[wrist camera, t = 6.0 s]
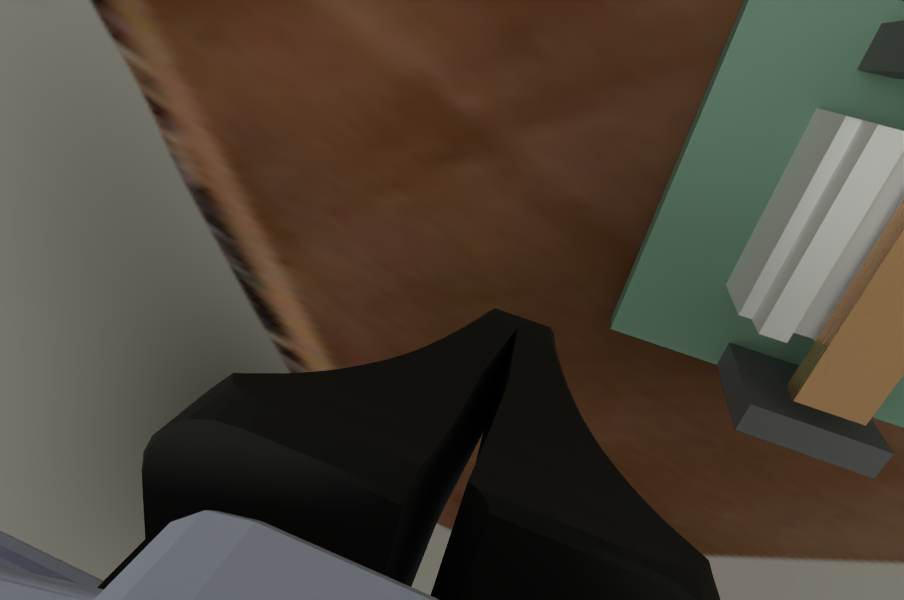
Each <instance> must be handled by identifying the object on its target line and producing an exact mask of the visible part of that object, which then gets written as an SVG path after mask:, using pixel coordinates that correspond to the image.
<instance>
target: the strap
mask: <svg viewBox="0 0 904 600" xmlns="http://www.w3.org/2000/svg"><path fill="white" fill-rule="evenodd" d="M903 375H904V199H903V201H902V203H901V204H900V206H899V207H898V209H897V211H896V212H895V214H894V215H893V217H892V219H891V220H890V222H889V223H888V225H887V227H886V228H885V230H884V231H883V233H882V235H881V236H880V238H879V239H878V241H877V243H876V244H875V246H874V247H873V249H872V251H871V252H870V254H869V255H868V257H867V259H866V260H865V262H864V263H863V265H862V267H861V268H860V270H859V271H858V273H857V275H856V276H855V278H854V279H853V281H852V282H851V284H850V286H849V287H848V289H847V290H846V292H845V294H844V295H843V297H842V298H841V300H840V302H839V303H838V305H837V306H836V308H835V310H834V311H833V313H832V314H831V316H830V318H829V319H828V321H827V322H826V324H825V326H824V327H823V329H822V330H821V332H820V334H819V335H818V337H817V338H816V340H815V342H814V343H813V345H812V346H811V348H810V350H809V351H808V353H807V354H806V356H805V358H804V359H803V361H802V362H801V364H800V365H799V367H798V369H797V370H796V372H795V373H794V375H793V377H792V378H791V380H790V381H789V383H788V385H787V386H786V387H787V389H788V391H789V393H790V395H791V397H792V399H793V401H795V402H798V403H801V404H803V405H806V406H809V407H812V408H815V409H818V410H821V411H824V412H827V413H830V414H833V415H836V416H839V417H842V418H845V419H848V420H850V421H853V422H856V423H859V424H862V425H865V426H866V425H867V424H868V422H869V421H870V419H871V418H872V417H873V415H874V414H875V413H876V411H877V410H878V409H879V407H880V406H881V405H882V403H883V402H884V401H885V399H886V398H887V396H888V395H889V394H890V392H891V391H892V390H893V388H894V387H895V386H896V384H897V383H898V382H899V380H900V379H901V378H902V376H903Z"/></svg>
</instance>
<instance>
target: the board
mask: <svg viewBox="0 0 904 600" xmlns="http://www.w3.org/2000/svg"><path fill="white" fill-rule="evenodd" d="M903 199H904V1H901V0H744V1H743V3H742V5H741V8H740V10H739V13H738V15H737V17H736V20H735V22H734V25H733V27H732V29H731V32H730V34H729V37H728V39H727V41H726V44H725V46H724V49H723V51H722V53H721V56H720V58H719V61H718V63H717V65H716V68H715V70H714V73H713V75H712V77H711V80H710V82H709V85H708V87H707V89H706V92H705V94H704V97H703V99H702V101H701V104H700V106H699V109H698V111H697V113H696V116H695V118H694V121H693V123H692V125H691V128H690V130H689V133H688V135H687V137H686V140H685V142H684V145H683V147H682V149H681V152H680V154H679V157H678V159H677V161H676V164H675V166H674V169H673V171H672V173H671V176H670V178H669V181H668V183H667V185H666V188H665V190H664V193H663V195H662V197H661V200H660V202H659V205H658V207H657V209H656V212H655V214H654V217H653V219H652V221H651V224H650V226H649V229H648V231H647V233H646V236H645V238H644V241H643V243H642V245H641V248H640V250H639V253H638V255H637V257H636V260H635V262H634V265H633V267H632V269H631V272H630V274H629V277H628V279H627V281H626V284H625V286H624V289H623V291H622V293H621V296H620V298H619V300H618V303H617V305H616V308H615V310H614V312H613V315H612V317H611V329H612V330H615V331H618V332H621V333H624V334H627V335H630V336H633V337H636V338H639V339H642V340H645V341H648V342H651V343H654V344H657V345H660V346H663V347H665V348H668V349H671V350H674V351H677V352H680V353H683V354H686V355H689V356H692V357H695V358H698V359H701V360H704V361H707V362H710V363H713V364H716V365H717V368H718V371H719V375H720V378H721V382H722V385H723V389H724V392H725V396H726V399H727V403H728V406H729V410H730V413H731V417H732V420H733V424H734V427H735V430H737V431H740V432H743V433H746V434H749V435H751V436H754V437H757V438H760V439H763V440H765V441H768V442H771V443H774V444H777V445H780V446H782V447H785V448H788V449H791V450H794V451H797V452H799V453H802V454H805V455H808V456H811V457H813V458H816V459H819V460H822V461H825V462H828V463H830V464H833V465H836V466H839V467H842V468H844V469H847V470H850V471H853V472H856V473H859V474H861V475H864V476H867V477H870V478H873V479H874V478H875V477H876V476H877V475H878V473H879V472H880V471H881V470H882V468H883V467H884V466H885V465H886V463H887V462H888V461H889V460H890V458H891V457H892V456H893V455H894V453H893V451H892V450H891V448H890V447H889V445H888V444H887V442H886V441H885V439H884V438H883V436H882V435H881V433H880V432H879V430H878V429H877V428H876V426H875V425H874V423H873V422H872V420H871V419H870V421H869V422H868V424H867V425H866V426H865V425H862V424H859V423H856V422H853V421H850V420H848V419H845V418H842V417H839V416H836V415H833V414H830V413H827V412H824V411H821V410H818V409H815V408H812V407H809V406H806V405H803V404H801V403H798V402H795V401H793V399H792V397H791V395H790V393H789V391H788V389H787V387H786V386H787V385H788V383H789V381H790V380H791V378H792V377H793V375H794V373H795V372H796V370H797V369H798V367H799V365H800V364H801V362H802V361H803V359H804V358H805V356H806V354H807V353H808V351H809V350H810V348H811V346H812V345H813V343H814V342H815V340H816V338H817V337H818V335H819V334H820V332H821V330H822V329H823V327H824V326H825V324H826V322H827V321H828V319H829V318H830V316H831V314H832V313H833V311H834V310H835V308H836V306H837V305H838V303H839V302H840V300H841V298H842V297H843V295H844V294H845V292H846V290H847V289H848V287H849V286H850V284H851V282H852V281H853V279H854V278H855V276H856V275H857V273H858V271H859V270H860V268H861V267H862V265H863V263H864V262H865V260H866V259H867V257H868V255H869V254H870V252H871V251H872V249H873V247H874V246H875V244H876V243H877V241H878V239H879V238H880V236H881V235H882V233H883V231H884V230H885V228H886V227H887V225H888V223H889V222H890V220H891V219H892V217H893V215H894V214H895V212H896V211H897V209H898V207H899V206H900V204H901V203H902V201H903ZM873 418H876V419H879V420H882V421H885V422H888V423H891V424H894V425H897V426H899V427H902V428H904V375H903V376H902V378H901V379H900V380H899V382H898V383H897V384H896V386H895V387H894V388H893V390H892V391H891V392H890V394H889V395H888V396H887V398H886V399H885V401H884V402H883V403H882V405H881V406H880V407H879V409H878V410H877V411H876V413H875V414H874V415H873Z"/></svg>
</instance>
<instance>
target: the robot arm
mask: <svg viewBox="0 0 904 600" xmlns="http://www.w3.org/2000/svg"><path fill="white" fill-rule="evenodd" d="M483 431H484V432H483ZM482 433H483V436H482V439H481V443H480V447H479V451H478V455H477V459H476V463H475V467H474V469H473V471H472V474H471V476H470V478H469V480H468V483H467V486H466V489H465V492H464V495H463V498H462V501H461V505H460V508H459V511H458V514H457V517H456V520H455V523H454V526H453V529H452V532H451V535H450V538H449V541H448V544H447V547H446V550H445V554H444V556H443V559H442V563H441V565H440V569H439V571H438V575H437V578H436V581H435V584H434V587H433V590H432V593H431V596H430V595H428V594H425V593H423V592H421V591H419V590H417V589H414V588H412V587H411V586H412V583H413V581H414V578H415V576H416V573H417V571H418V568H419V566H420V563H421V561H422V558H423V556H424V553H425V550H426V548H427V545H428V543H429V540H430V538H431V535H432V533H433V530H434V528H435V526H436V523H437V521H438V519H439V517H440V515H441V513H442V511H443V508H444V507H445V505H446V503H447V501H448V499H449V497H450V495H451V493H452V491H453V489H454V487H455V485H456V483H457V482H458V480H459V478H460V476H461V474H462V472H463V470H464V468H465V466H466V464H467V462H468V460H469V458H470V457H471V455H472V453H473V451H474V449H475V447H476V445H477V443H478V441H479V439H480V437H481V435H482ZM142 485H143V502H144V521H145V538H146V539H145V540H144V541H143V542H142V543H141V544H140V545H139V546H138V547H137V548H136V549H135V550H134V551H133V552H132V553H131V554H130V555H129V556H128V557H127V558H126V559H125V560H124V561H123V562H122V563H121V564H120V565H119V566H118V567H117V568H116V569H115V570H114V571H113V572H112V573H111V574H110V575H109V576H108V577H107V578H106V579H105V580H104V581H102V580H100V579H99V578H96V577H94V576H92V575H90V574H88V573H86V572H84V571H82V570H80V569H78V568H76V567H74V566H72V565H70V564H68V563H66V562H64V561H62V560H60V559H57V558H55V557H53V556H51V555H49V554H47V553H45V552H43V551H41V550H39V549H37V548H34V547H33V546H31V545H29V544H27V543H25V542H22V541H20V540H18V539H16V538H14V537H12V536H10V535H8V534H6V533H4V532H2V531H0V600H720V597H719V594H718V591H717V587H716V585H715V581H714V578H713V575H712V571H711V567H710V563H709V560H708V559H706V558H705V557H704V556H703V555H702V554H701V553H700V552H699V551H698V550H696V549H695V548H694V547H693V546H692V545H691V544H690V543H689V542H688V541H686V540H685V539H684V538H683V537H682V536H681V535H680V534H679V533H677V532H676V531H675V530H674V529H673V528H672V527H671V526H670V525H669V524H667V523H666V522H665V521H664V520H663V519H662V518H661V517H660V516H659V515H658V514H657V513H656V512H655V511H654V510H653V509H652V508H651V507H650V506H649V505H648V504H647V503H646V502H645V500H644V499H643V498H642V497H641V496H640V495H639V494H638V493H637V492H636V491H635V490H634V489H633V488H632V486H631V485H630V484H629V483H628V482H627V481H626V479H625V478H624V477H623V476H622V475H621V474H620V472H619V471H618V470H617V468H616V467H615V466H614V464H613V463H612V462H611V461H610V459H609V458H608V457H607V455H606V454H605V453H604V451H603V450H602V449H601V447H600V446H599V444H598V443H597V441H596V440H595V438H594V437H593V435H592V433H591V432H590V430H589V428H588V427H587V425H586V424H585V422H584V420H583V418H582V416H581V414H580V412H579V410H578V408H577V406H576V404H575V402H574V400H573V397H572V395H571V393H570V390H569V388H568V385H567V383H566V380H565V377H564V374H563V371H562V368H561V365H560V362H559V359H558V355H557V351H556V347H555V342H554V334H553V332H552V330H551V328H550V327H548V326H545V325H542V324H539V323H536V322H533V321H530V320H527V319H524V318H521V317H518V316H516V315H513V314H510V313H507V312H504V311H501V310H498V309H493V310H491V311H489V312H487V313H486V314H484V315H483V316H481V317H480V318H478V319H476V320H475V321H473V322H472V323H470V324H468V325H467V326H465V327H463V328H461V329H459V330H458V331H456V332H454V333H452V334H450V335H448V336H447V337H445V338H443V339H441V340H438V341H436V342H434V343H432V344H429V345H427V346H425V347H423V348H421V349H418V350H416V351H413V352H410V353H407V354H404V355H401V356H397V357H394V358H391V359H387V360H383V361H379V362H374V363H369V364H364V365H359V366H354V367H349V368H343V369H336V370H328V371H318V372H305V373H287V374H278V373H273V374H271V373H270V374H268V373H267V374H266V373H265V374H264V373H259V374H257V373H255V374H254V373H250V374H249V373H248V374H246V373H245V374H244V373H233V374H231V375H230V376H228V377H227V378H225V379H224V380H222V381H221V382H220V383H218V384H217V385H215V386H214V387H213V388H211V389H209V390H208V391H207V392H206V393H205V394H203V395H202V396H201V397H200V398H198V399H197V400H196V401H195V402H194V403H192V404H191V405H190V406H189V407H187V408H186V409H185V410H184V411H182V412H181V413H180V414H179V415H177V416H176V417H175V418H174V419H172V420H171V421H170V422H169V423H167V424H166V425H165V426H164V427H162V428H161V429H160V430H159V431H158V432H156V433H155V434H154V435H153V436H152V437H151V439H150V441H149V443H148V445H147V447H146V449H145V450H144V454H143V465H142Z"/></svg>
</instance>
